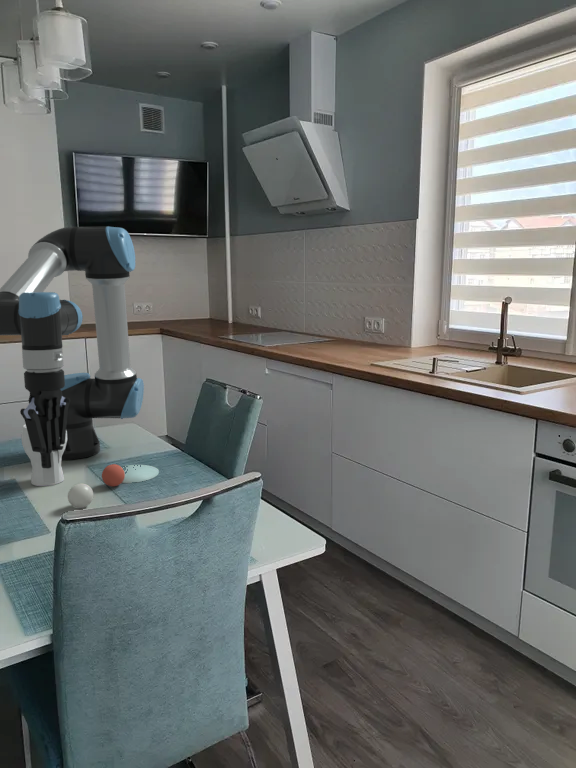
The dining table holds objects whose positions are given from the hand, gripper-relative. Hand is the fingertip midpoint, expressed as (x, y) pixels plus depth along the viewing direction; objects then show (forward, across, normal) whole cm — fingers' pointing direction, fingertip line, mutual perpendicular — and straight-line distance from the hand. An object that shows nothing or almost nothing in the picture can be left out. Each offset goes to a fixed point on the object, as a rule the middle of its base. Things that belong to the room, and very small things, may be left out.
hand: (51, 481), depth 122 cm
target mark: (+9, +33, 0) cm, 34 cm away
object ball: (+7, +24, 0) cm, 25 cm away
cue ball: (+7, +10, 0) cm, 12 cm away
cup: (+10, +23, +18) cm, 31 cm away
